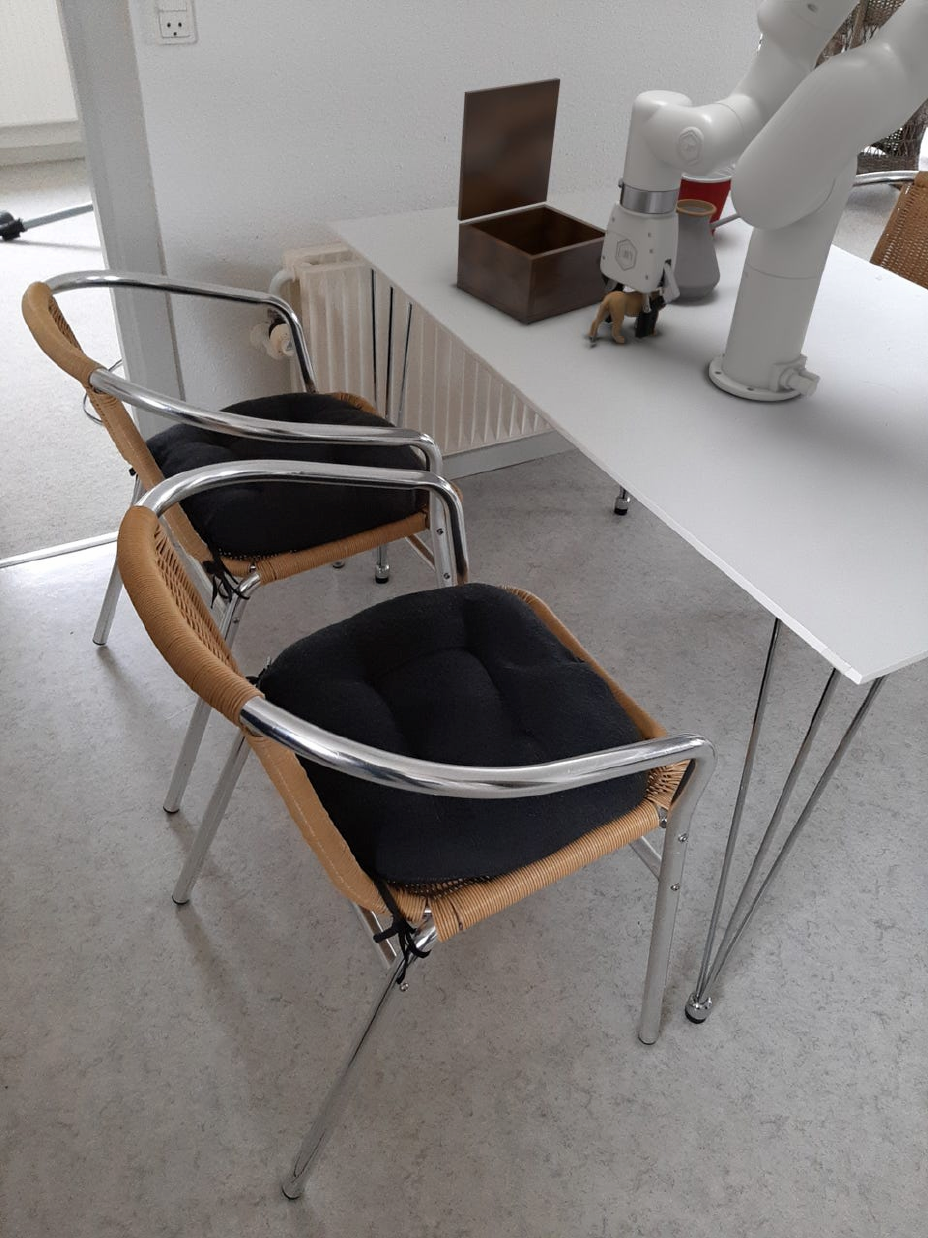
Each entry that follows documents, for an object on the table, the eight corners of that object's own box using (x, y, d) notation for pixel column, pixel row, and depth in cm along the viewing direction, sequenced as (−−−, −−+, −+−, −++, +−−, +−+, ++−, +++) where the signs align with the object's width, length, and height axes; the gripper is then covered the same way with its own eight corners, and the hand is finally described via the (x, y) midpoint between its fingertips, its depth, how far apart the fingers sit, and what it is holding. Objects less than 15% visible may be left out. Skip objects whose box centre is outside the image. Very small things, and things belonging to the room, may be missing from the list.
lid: (560, 78, 144) (538, 70, 147) (468, 92, 136) (445, 83, 139) (546, 201, 156) (526, 191, 159) (460, 221, 148) (440, 210, 151)
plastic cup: (649, 231, 176) (661, 159, 168) (700, 224, 180) (713, 153, 172) (685, 253, 169) (698, 178, 161) (737, 245, 172) (752, 172, 165)
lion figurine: (648, 315, 149) (658, 255, 143) (675, 328, 146) (687, 267, 140) (577, 340, 141) (585, 277, 135) (604, 354, 138) (613, 290, 132)
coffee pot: (653, 306, 151) (671, 204, 142) (633, 276, 160) (648, 178, 150) (788, 304, 154) (814, 203, 144) (761, 275, 163) (784, 178, 153)
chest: (610, 298, 153) (619, 235, 147) (526, 324, 145) (531, 258, 139) (539, 263, 163) (544, 203, 157) (456, 286, 154) (458, 223, 148)
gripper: (583, 183, 135) (569, 313, 147) (677, 221, 125) (654, 357, 137) (623, 175, 138) (605, 301, 150) (717, 211, 128) (691, 344, 140)
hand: (629, 326), depth 143 cm, fingers open, 5 cm apart
